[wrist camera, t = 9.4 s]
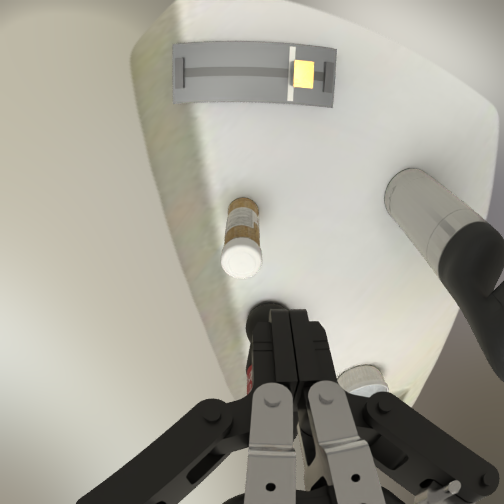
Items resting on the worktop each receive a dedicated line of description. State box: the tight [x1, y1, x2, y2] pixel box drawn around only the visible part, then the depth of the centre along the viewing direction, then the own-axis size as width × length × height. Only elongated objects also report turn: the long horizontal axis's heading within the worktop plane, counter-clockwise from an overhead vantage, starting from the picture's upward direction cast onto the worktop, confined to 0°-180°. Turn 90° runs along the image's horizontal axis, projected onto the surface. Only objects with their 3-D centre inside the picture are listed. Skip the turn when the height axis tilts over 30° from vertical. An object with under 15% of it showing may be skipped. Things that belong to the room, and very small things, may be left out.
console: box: [173, 41, 337, 108], centre depth 33 cm, size 20×8×3 cm, turn 88°
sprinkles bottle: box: [221, 198, 262, 279], centre depth 39 cm, size 5×5×14 cm
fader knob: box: [289, 60, 314, 88], centre depth 31 cm, size 2×3×4 cm
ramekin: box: [337, 365, 389, 397], centre depth 67 cm, size 13×13×7 cm
